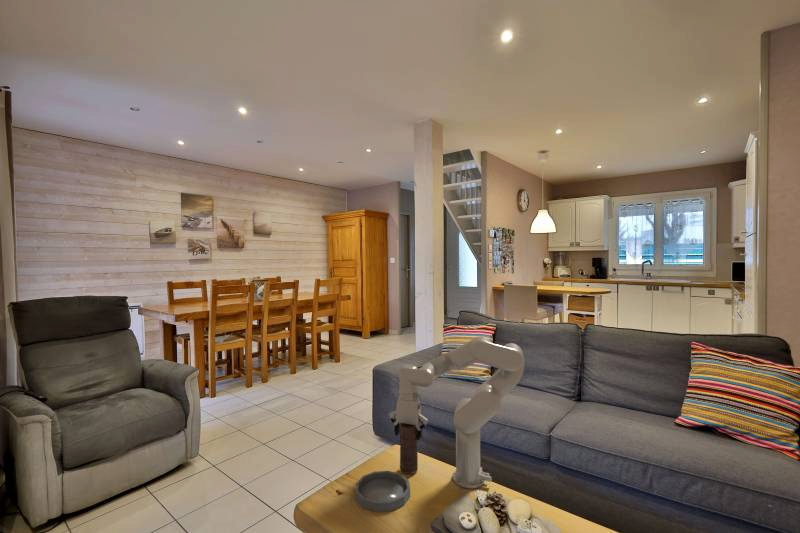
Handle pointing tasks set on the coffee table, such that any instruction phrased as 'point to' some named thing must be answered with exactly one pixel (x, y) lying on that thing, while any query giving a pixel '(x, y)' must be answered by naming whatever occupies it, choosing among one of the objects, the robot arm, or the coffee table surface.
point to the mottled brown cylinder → (408, 448)
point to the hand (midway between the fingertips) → (408, 436)
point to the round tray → (382, 491)
